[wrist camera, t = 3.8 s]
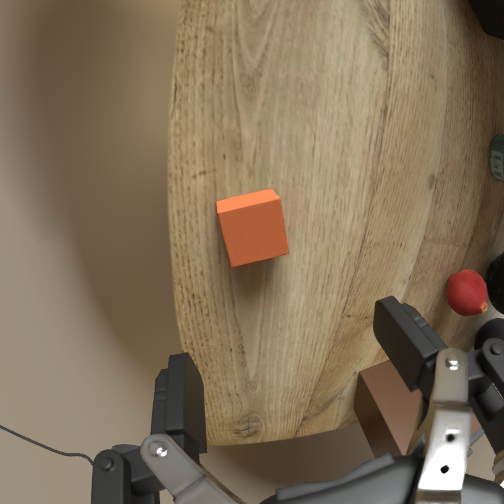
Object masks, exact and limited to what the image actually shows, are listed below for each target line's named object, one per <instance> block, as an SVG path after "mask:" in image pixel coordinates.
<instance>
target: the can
mask: <svg viewBox="0 0 504 504" xmlns="http://www.w3.org/2000/svg"><path fill="white" fill-rule="evenodd" d="M493 139H494V141H493V142H491V146H490V150H489V154H490V156H489V157H488V159H489V167H490V172H492V176H493V177H494V178H495V180H498V181H500V182H502V183H504V135H503V134H499V135H497V136H495V137H494V138H493Z"/></svg>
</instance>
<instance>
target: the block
mask: <svg viewBox="0 0 504 504" xmlns="http://www.w3.org/2000/svg"><path fill="white" fill-rule="evenodd" d="M216 206H217V215H218V219H219V223H220V226H221V230H222V234H223V238H224V242H225V245H226V249H227V253H228V256H229V260H230V264H231V267H232V268H233V267H237V266H241V265H245V264H249V263H253V262H257V261H261V260H265V259H269V258H273V257H277V256H281V255H286V254H289V250H288V243H287V237H286V231H285V225H284V218H283V212H282V206H281V200H280V198H279V197H278V196H277V194H276V193H275V192H274V191H273V190H272V189H267V190H263V191H258V192H254V193H249V194H245V195H241V196H237V197H232V198H228V199H224V200H220V201H217V202H216Z"/></svg>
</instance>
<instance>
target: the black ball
mask: <svg viewBox="0 0 504 504" xmlns="http://www.w3.org/2000/svg"><path fill="white" fill-rule="evenodd" d="M489 338H499V339H501V340H503V341H504V319H502V318H496V319H492V320H490V321H488V322H487V323H485V324H484V325H483V326H482V327H481V329H480V330H479V332H478V334H477V336H476V339H475V344H474V350H478V349H481V348H482V346H483V344H484V342H485V341H486V340H487V339H489Z"/></svg>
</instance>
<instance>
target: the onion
mask: <svg viewBox="0 0 504 504" xmlns="http://www.w3.org/2000/svg"><path fill="white" fill-rule="evenodd" d="M447 300H448V303H449V305H450V307H451V308H452V309H453V310H454V311H455V312H456V313H457V314H459V315H462V316H473V315H476V314H479V313H485V312H486V311H487V310H488V304H486V302H487V287H486V284H485V282H484V280H483V279H482V277H481V276H480V275H479V274H478V273H477V272H475V271H473V270H463V271H460V272H458V273H456V274H454V275H451V276H450V277H449V279H448V286H447Z"/></svg>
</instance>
